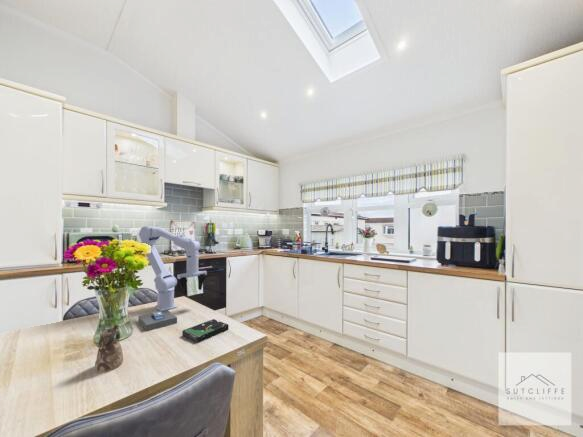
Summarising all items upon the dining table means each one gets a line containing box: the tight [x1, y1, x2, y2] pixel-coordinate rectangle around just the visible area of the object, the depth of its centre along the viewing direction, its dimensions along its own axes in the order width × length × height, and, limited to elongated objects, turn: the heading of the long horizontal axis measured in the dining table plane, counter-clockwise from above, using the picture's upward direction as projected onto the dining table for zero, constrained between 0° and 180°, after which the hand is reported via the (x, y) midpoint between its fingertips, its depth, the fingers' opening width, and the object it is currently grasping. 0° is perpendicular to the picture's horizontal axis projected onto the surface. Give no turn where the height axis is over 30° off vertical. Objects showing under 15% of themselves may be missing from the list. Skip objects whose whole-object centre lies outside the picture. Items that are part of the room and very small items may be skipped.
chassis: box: [138, 309, 178, 332], centre depth 113 cm, size 14×12×2 cm
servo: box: [152, 310, 164, 320], centre depth 112 cm, size 8×3×5 cm, turn 38°
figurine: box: [94, 324, 124, 374], centre depth 79 cm, size 7×7×12 cm
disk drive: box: [181, 318, 229, 344], centre depth 102 cm, size 10×3×15 cm
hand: (192, 290), depth 129 cm, fingers open, 7 cm apart
